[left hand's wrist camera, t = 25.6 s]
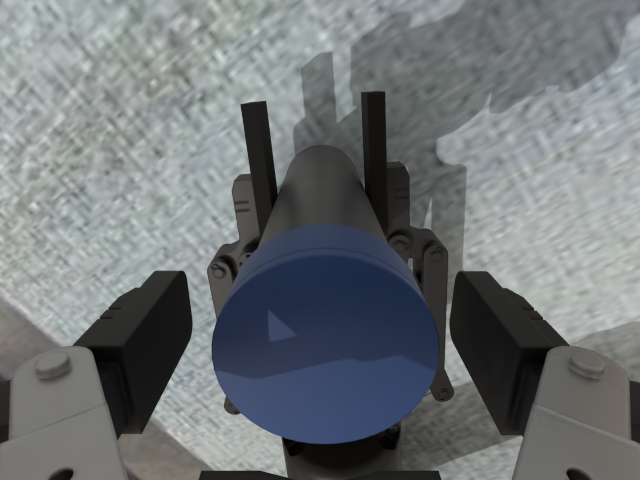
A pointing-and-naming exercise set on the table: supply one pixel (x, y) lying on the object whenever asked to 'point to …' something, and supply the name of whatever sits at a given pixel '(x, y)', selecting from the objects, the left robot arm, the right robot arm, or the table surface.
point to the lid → (325, 336)
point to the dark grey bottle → (322, 195)
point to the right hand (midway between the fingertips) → (312, 98)
